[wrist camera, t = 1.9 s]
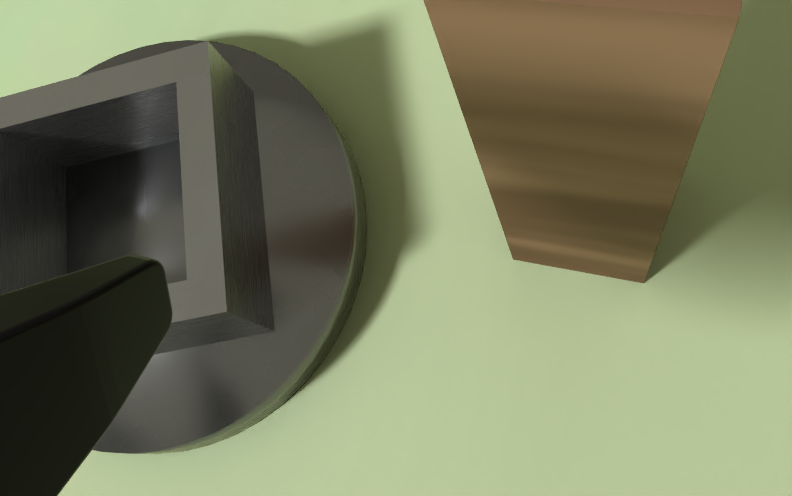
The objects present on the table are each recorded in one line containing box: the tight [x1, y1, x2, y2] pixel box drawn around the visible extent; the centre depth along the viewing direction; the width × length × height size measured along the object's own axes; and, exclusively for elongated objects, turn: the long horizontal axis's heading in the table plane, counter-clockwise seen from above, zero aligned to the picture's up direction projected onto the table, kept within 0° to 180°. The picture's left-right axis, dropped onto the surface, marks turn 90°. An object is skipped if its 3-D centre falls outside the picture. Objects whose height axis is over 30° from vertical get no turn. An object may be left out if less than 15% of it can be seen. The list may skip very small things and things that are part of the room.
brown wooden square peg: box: [424, 0, 742, 283], centre depth 15 cm, size 4×4×13 cm
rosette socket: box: [0, 40, 367, 454], centre depth 22 cm, size 13×13×4 cm
